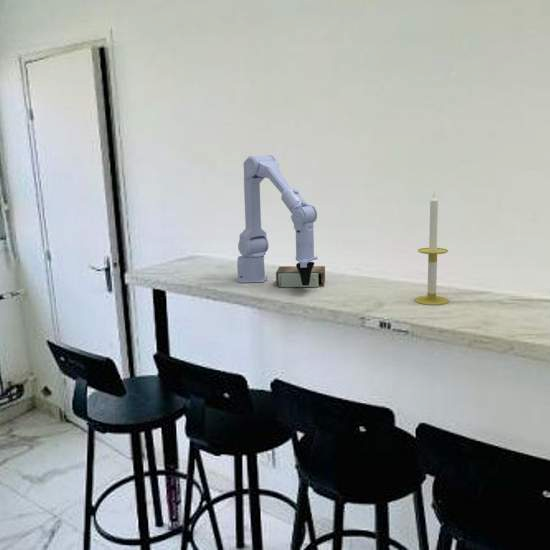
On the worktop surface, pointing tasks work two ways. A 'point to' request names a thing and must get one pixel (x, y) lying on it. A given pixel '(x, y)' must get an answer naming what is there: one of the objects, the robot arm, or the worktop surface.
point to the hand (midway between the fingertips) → (305, 285)
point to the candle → (432, 259)
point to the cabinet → (294, 270)
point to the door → (297, 280)
